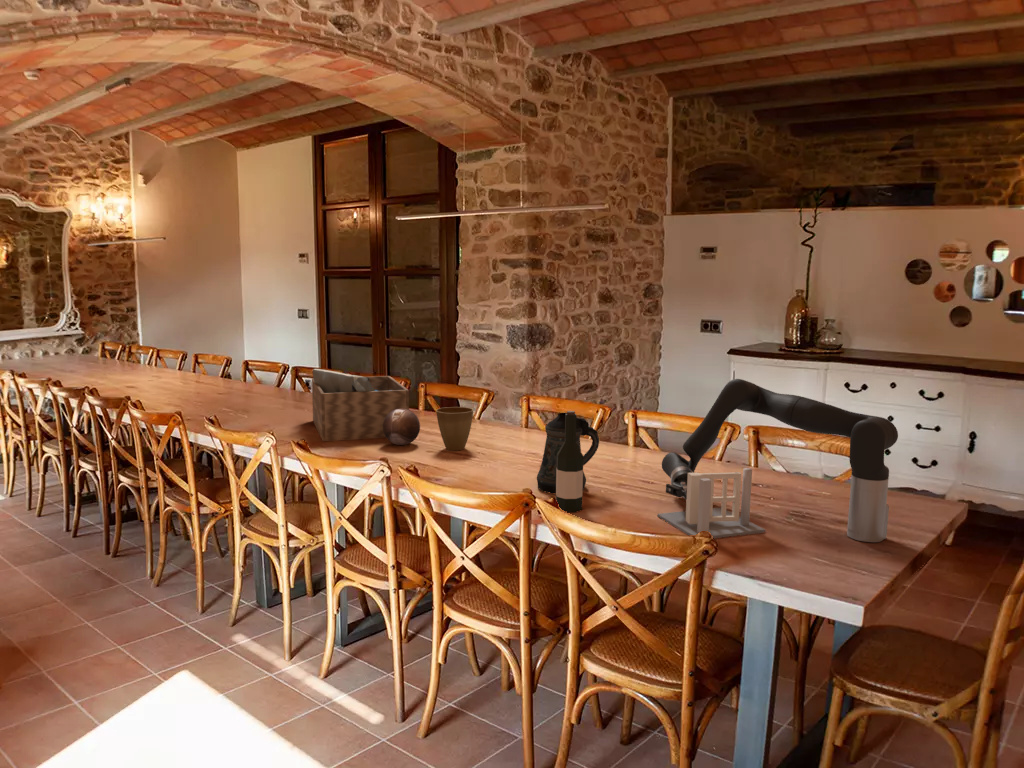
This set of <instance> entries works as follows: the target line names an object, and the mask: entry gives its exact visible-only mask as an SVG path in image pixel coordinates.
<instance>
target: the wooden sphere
mask: <svg viewBox="0 0 1024 768" xmlns="http://www.w3.org/2000/svg"><path fill="white" fill-rule="evenodd" d="M420 430H421V423H420V420H419V417H418V416H417V414H415V412H414V411H411V410H410V409H409V410H408V409H403V408H400V409H395V410H393V411H391V412H390V413H389V414H388V415H387V416H386V418H385V420H384V423H383V431H384V434H385V436H386V437H385V438H386V439H387V440H388V441H389V442H390V443H392V444H393V445H397V446H404V445H409V444H411V443H412V442H414V441H415V440H416V439H417V437H418V436H419V434H420Z"/></svg>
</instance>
